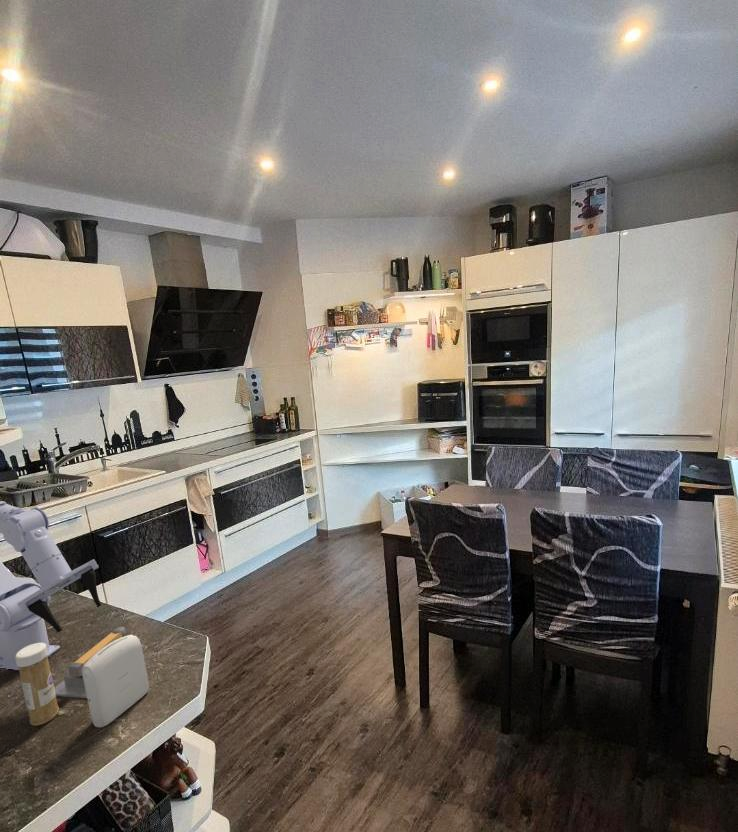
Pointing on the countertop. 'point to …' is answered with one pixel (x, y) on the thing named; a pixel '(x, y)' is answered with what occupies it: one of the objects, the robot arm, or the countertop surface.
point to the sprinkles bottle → (37, 683)
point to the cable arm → (95, 651)
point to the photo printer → (115, 679)
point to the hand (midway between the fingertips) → (80, 618)
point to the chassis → (72, 686)
